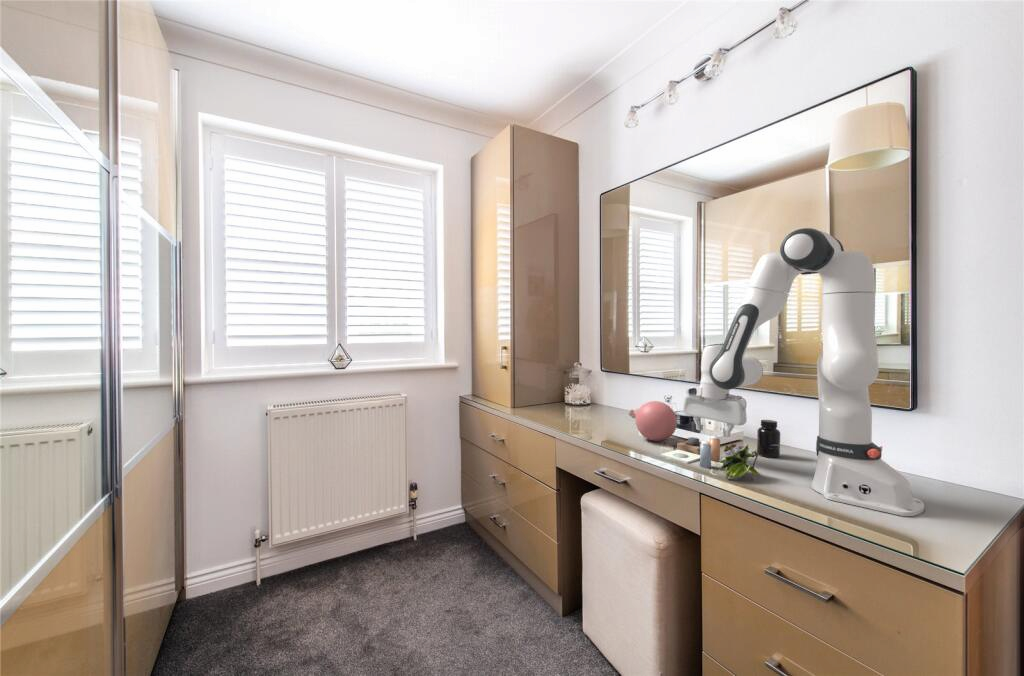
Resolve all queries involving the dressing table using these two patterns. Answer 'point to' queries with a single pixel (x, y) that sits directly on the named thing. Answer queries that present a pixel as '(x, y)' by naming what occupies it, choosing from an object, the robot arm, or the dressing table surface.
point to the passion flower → (738, 461)
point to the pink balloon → (655, 420)
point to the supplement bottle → (768, 439)
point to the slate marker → (705, 454)
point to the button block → (688, 447)
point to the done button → (693, 441)
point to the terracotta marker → (715, 448)
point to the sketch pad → (681, 456)
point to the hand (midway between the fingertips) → (712, 433)
